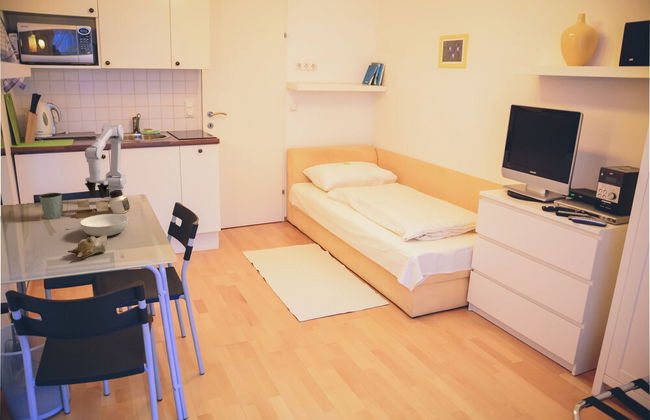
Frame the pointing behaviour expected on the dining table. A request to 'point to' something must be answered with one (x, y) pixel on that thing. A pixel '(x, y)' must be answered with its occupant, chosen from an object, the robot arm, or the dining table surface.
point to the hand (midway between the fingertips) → (98, 196)
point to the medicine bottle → (118, 202)
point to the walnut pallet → (90, 213)
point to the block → (102, 206)
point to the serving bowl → (104, 224)
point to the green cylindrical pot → (52, 205)
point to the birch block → (83, 204)
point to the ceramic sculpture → (90, 246)
